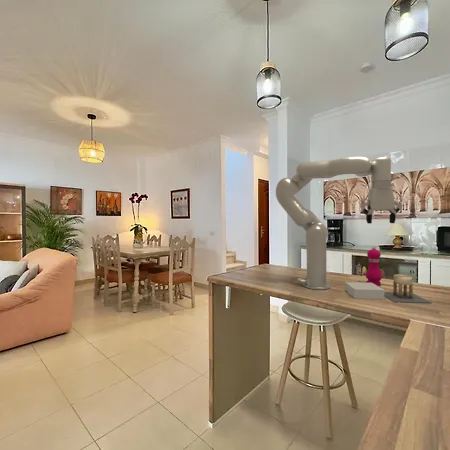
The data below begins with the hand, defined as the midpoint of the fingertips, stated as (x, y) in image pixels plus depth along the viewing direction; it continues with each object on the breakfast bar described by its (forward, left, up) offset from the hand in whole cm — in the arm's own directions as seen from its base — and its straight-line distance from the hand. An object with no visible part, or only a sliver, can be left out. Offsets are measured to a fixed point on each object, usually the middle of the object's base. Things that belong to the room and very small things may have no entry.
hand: (380, 223), depth 116 cm
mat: (+7, -5, -32) cm, 33 cm away
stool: (+7, -5, -32) cm, 33 cm away
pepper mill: (+4, +16, -32) cm, 36 cm away
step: (-8, -2, -32) cm, 33 cm away
